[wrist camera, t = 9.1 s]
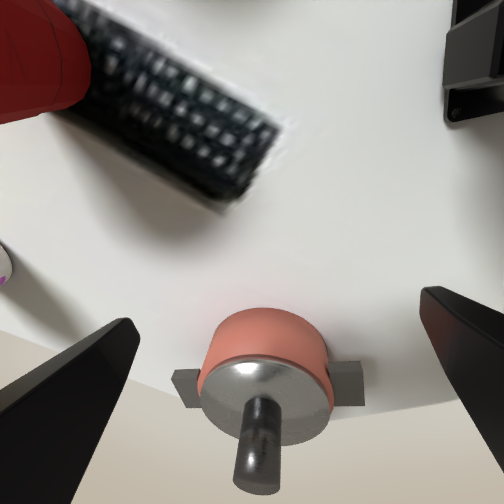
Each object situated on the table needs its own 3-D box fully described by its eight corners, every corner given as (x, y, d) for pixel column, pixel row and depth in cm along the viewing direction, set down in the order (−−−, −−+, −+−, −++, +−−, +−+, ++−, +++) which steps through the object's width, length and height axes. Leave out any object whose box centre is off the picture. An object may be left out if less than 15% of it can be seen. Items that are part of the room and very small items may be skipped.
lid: (321, 349, 19) (333, 437, 14) (333, 435, 24) (346, 526, 18) (186, 357, 21) (152, 435, 16) (221, 434, 26) (204, 514, 21)
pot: (348, 298, 23) (362, 342, 18) (355, 387, 28) (368, 438, 23) (175, 315, 26) (152, 355, 22) (209, 391, 31) (196, 436, 27)
